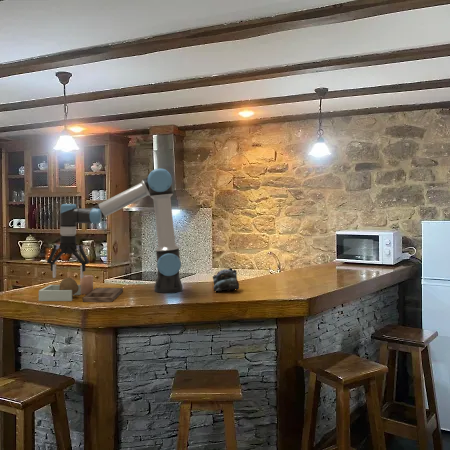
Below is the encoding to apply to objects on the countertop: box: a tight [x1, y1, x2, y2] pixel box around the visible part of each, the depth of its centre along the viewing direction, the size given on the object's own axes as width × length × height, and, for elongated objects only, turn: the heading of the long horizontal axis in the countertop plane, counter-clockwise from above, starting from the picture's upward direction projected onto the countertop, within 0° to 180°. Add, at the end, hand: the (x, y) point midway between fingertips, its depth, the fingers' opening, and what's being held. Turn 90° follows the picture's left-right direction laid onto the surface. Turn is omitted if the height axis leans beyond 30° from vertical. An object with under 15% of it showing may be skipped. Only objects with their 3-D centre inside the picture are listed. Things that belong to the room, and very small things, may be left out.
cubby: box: [38, 284, 82, 302], centre depth 238 cm, size 16×16×5 cm
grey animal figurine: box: [212, 267, 240, 292], centre depth 257 cm, size 15×12×14 cm
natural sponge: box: [59, 277, 79, 296], centre depth 238 cm, size 9×9×10 cm
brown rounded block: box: [79, 274, 94, 295], centre depth 250 cm, size 6×6×9 cm
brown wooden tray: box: [82, 287, 124, 303], centre depth 241 cm, size 14×26×2 cm, turn 1°
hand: (68, 277), depth 237 cm, fingers open, 13 cm apart
